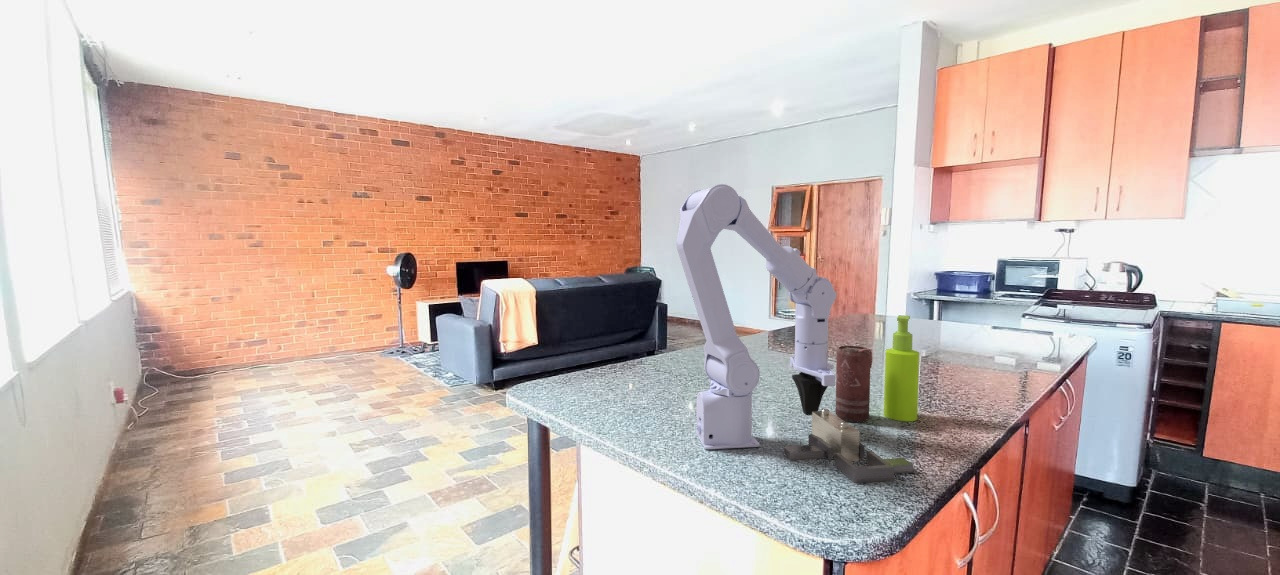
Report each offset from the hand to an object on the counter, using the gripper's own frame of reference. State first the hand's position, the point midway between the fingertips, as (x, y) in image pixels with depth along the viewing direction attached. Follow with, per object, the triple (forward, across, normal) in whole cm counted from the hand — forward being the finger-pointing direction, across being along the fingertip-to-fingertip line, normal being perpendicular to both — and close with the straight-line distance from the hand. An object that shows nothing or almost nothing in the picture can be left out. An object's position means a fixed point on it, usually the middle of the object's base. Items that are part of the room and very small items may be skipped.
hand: (810, 414), depth 92 cm
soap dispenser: (+3, +5, -21) cm, 22 cm away
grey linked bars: (+3, -14, 0) cm, 14 cm away
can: (+3, +5, -11) cm, 12 cm away
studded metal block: (+3, -9, 0) cm, 10 cm away
